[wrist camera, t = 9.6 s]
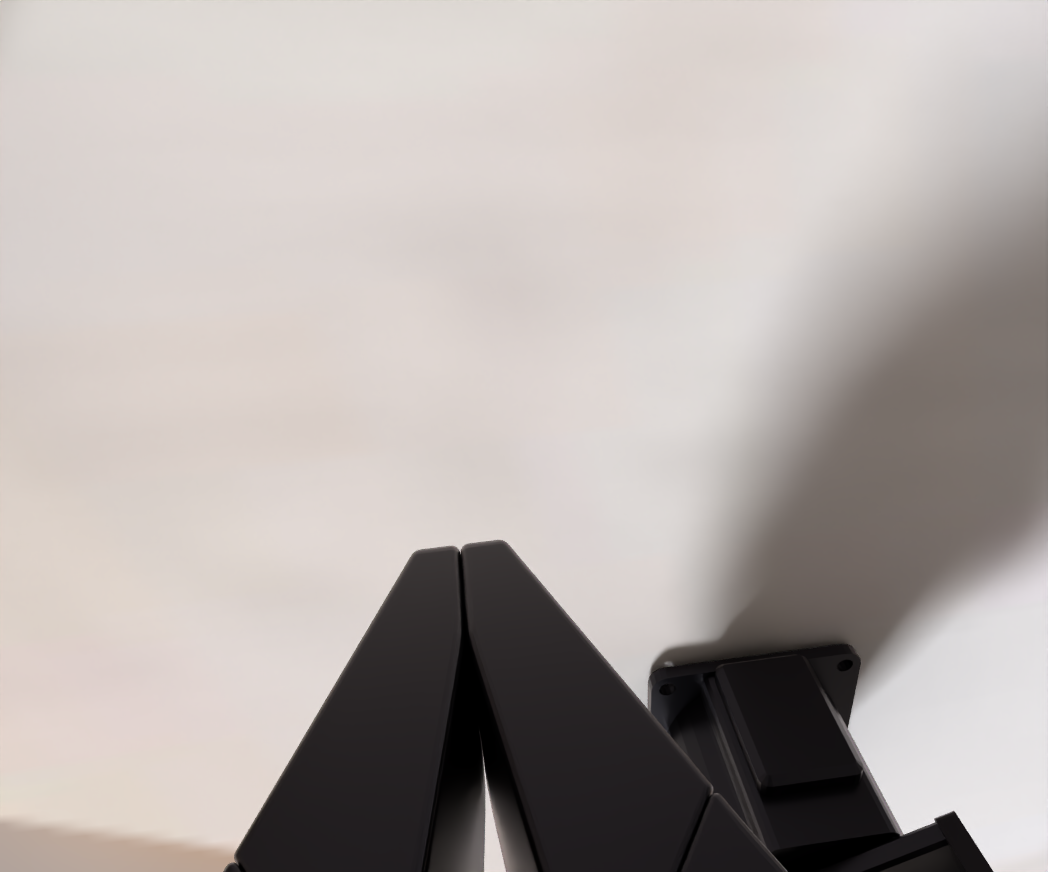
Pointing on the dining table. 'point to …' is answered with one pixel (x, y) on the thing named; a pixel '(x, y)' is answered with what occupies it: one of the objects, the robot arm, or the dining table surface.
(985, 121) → the dining table surface
